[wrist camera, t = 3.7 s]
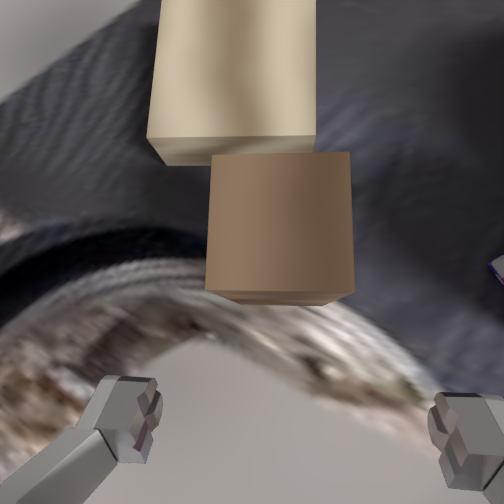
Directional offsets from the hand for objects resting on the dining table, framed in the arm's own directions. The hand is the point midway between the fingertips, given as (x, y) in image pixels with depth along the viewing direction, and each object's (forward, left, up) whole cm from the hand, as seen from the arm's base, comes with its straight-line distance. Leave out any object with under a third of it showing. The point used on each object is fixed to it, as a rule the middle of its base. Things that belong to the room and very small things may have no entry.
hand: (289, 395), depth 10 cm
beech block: (-3, +18, -11) cm, 21 cm away
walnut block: (0, +6, -11) cm, 12 cm away
